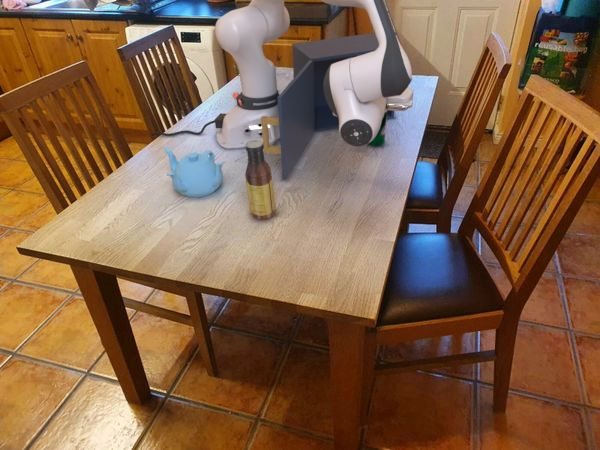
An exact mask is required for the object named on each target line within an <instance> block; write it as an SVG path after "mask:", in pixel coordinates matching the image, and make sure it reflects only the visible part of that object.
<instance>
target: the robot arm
mask: <svg viewBox="0 0 600 450" xmlns="http://www.w3.org/2000/svg"><path fill="white" fill-rule="evenodd" d="M320 2H323V3H324V4H327V5H332V6H335V7H351V8H353V7H354V8H359V9H363V10H364V11H365V12H367V14H368V17H369V20H370V23H371V26H372V28H373V33H375V34H376V37H377V40H378V43H379V46H378V48H377V49H376V50H375V51H373V52H370V53H366V54H363V55H360V56H357V57H354V58H349V59H346V60H342V61H339V62H336V63H334V64H331V65H330V66H329V68H328V70H327V72H326V75H325V78H324V84H323V88H324V94H325V98H326V101H327V103H328V106H329V107H330V109H331V111H332V112H333V115H334V116H337V117H339V128H338V133H339V136H340V138H341V139H342V141H343V142H344V143H346V144H347V145H350V146H352V147H364V146H367V145H368V144H369V143H370V142H371V141H372V140H373V139H374V138H375V137H376V135H377V133H378V131H379V129H380V126H381V123H382V119H383V116H384V113H385V110H389V111H394V112H405V111H407V110H409V109H412V107H413V104H414V102H413V101H414V99H413V98H414V88H411V87H410V86H409V85H410V84H411V82H412V81H413V77H412V76H413V70H412V65H411V62H410V59H409V57H408V55H407V53H406V51H405V49H404V48H403V46H402V42H401V41H400V37H399V35H398V32H397V30H396V26H395V24H394V21H393V18H392V16H391V13H390V10H389V7H388V4H387V2H386V0H320ZM290 18H291V17H290V14H289V11H288V9H287V8H286V6H285V0H250V2H249V4H248V5H246V6H243V7H240V8H235V9H232V10H230V11H228V12H226V13H225V14H223V15H222V16H220V17H219V18H218V19H217V20H216V22H215V26H214V35H215V39H216V41H217V43H218V45H219V47H221V49H223V51H225V52H227V53H228V54H229V55H231V57H232V58H233V60H234V62H235V63H236V67H237V68H238V69H239V74H238V75H240V76H239V79H240V80H241V81H240V80H239V81H240V87H241V92H240V93H239V92H237V91H233V93H232V98H233V99H234V101H235V100H236V105H235V106H234V107H233V108H232V109H230V111H228V112H227V113H224V112H223V113H222V112H221V113H219V114H218V115H217V116H216V117H215V118H214V120H211V121H209V122H207V123H205V124H204V125H203V127H202V128H201V130H200V131H199V132H196V131H192V130H179V131H176V132H171V133H166V132H161V131H154V132H152V133H151V134H150V137H155V135H161V136H164V137H171V136H176V135H180V134H192V135H195V136H199V135H202V134H203V133H204V131H205V129H206V128H207V127H208V126H210V125H212V124H214V126H215V129H218V130H217V132H216V141H217V143H218V144H219V146H221V147H222V148H224V149H227V150H232V149H241V148H242V149H243V148H246V143H247V142H248V141H250V140H256V139H257V140H261V141H262V142H263V134H262V123H261V117H263V116H266V117H277V118H279V114H278V100H277V97H278V96H279V95H280V92H279V89H278V82H277V68H276V65H275V64H274V62H273V61H272V60H270V59H267V58H266V56H265V53H264V49H263V46H264V45H267V44H269V43H272V42H274V41H276V40H278V39H279V38H281V37H282V36H284V35H285V34H286V33H287V32H288V30H289V28H290V25H291V24H290V23H291V19H290ZM268 134H269V145H271V146H274V144H275V143H276V142H277V141H278V140H280V129H279V126H276V125H268Z"/></svg>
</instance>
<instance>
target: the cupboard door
mask: <svg viewBox="0 0 600 450" xmlns="http://www.w3.org/2000/svg"><path fill="white" fill-rule="evenodd" d="M277 100H278V114H279V118H277V117H266V116H263V117H261V123H262V134H263V145H264V149H263V152H264V154H265V153H266V154H274V155H280V158H281V159H280V160H281V171H282V180H283V181H284V180H285V181H286V180H287V179H288V177H289V176H290V174H291V172H292V171H293V170H294V168H295V166H296V165H297V163H298V162H299V159H300V158H301V156H302V155H303V153H304V152H305V150H306V148H307V146H308V145H309V144H310V142H311V140H312V138H313V137H314V136H315V132H314V94H313V60H310V61H309V62H308V63H307V64H306V65H305V66H304V67H303V69H302V70H301V71H300V72H299V73H298V74H297V75H296V77H295V78H294V77H293V79H292V80H291V81H290V82H289V83H288V84H287V86H286V87H284V89H282V91H281V92H280V93H279V96H278V97H277ZM268 125H276V126H279V129H280V138H279V141H280V142H279V144H280V145H269V134H268Z"/></svg>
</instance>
